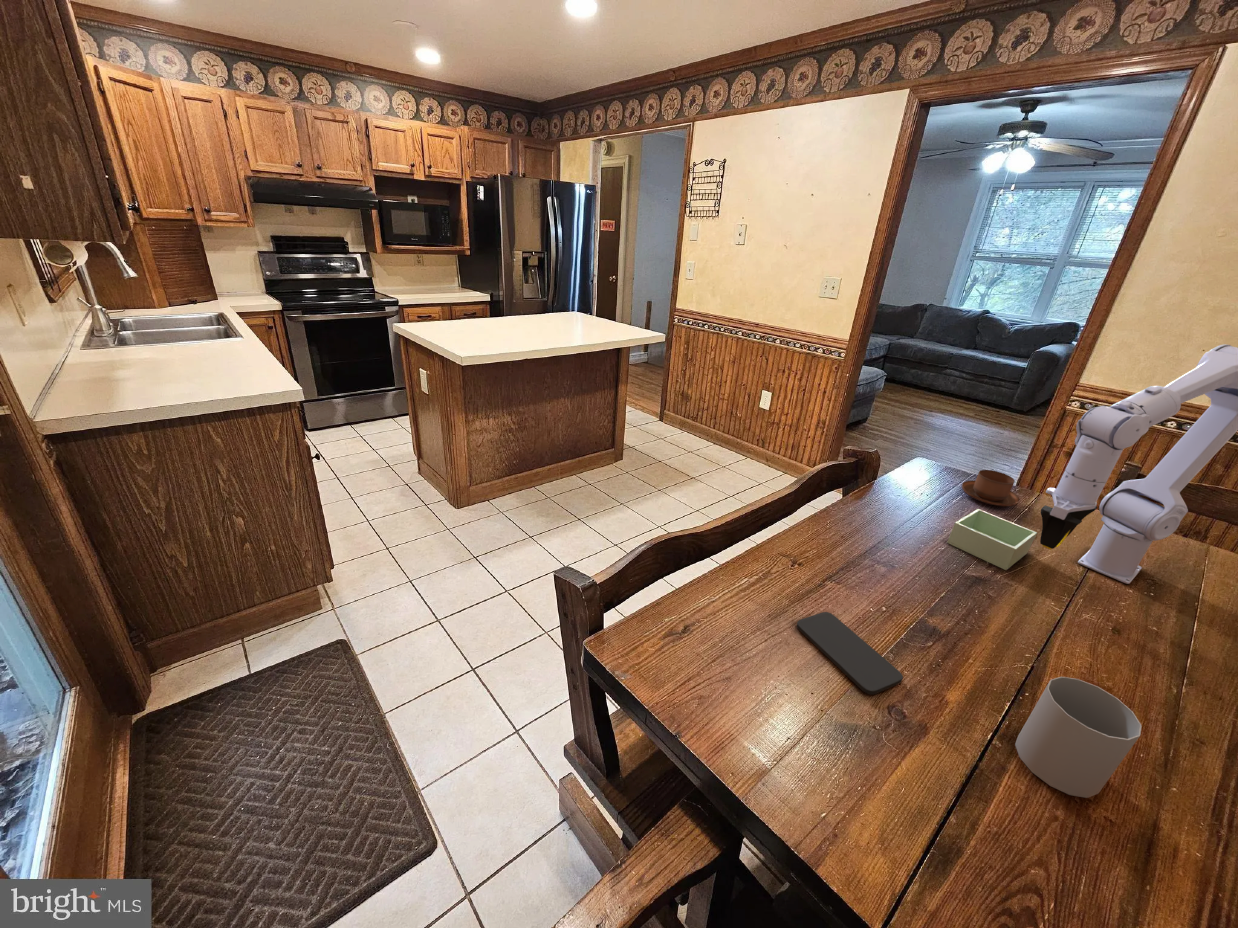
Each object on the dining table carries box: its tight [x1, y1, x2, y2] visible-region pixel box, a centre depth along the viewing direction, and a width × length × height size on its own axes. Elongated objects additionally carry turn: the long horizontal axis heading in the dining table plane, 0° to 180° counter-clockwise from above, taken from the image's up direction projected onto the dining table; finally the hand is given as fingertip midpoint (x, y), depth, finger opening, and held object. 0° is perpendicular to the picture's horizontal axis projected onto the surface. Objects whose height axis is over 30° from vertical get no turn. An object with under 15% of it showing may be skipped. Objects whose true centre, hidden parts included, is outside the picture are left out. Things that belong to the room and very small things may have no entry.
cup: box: [1014, 676, 1142, 799], centre depth 61 cm, size 8×8×10 cm
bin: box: [946, 508, 1038, 571], centre depth 105 cm, size 11×11×5 cm
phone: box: [796, 611, 904, 696], centre depth 78 cm, size 7×1×15 cm
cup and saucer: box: [961, 469, 1021, 507], centre depth 125 cm, size 12×12×6 cm
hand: (1053, 540), depth 95 cm, fingers closed on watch, 6 cm apart
